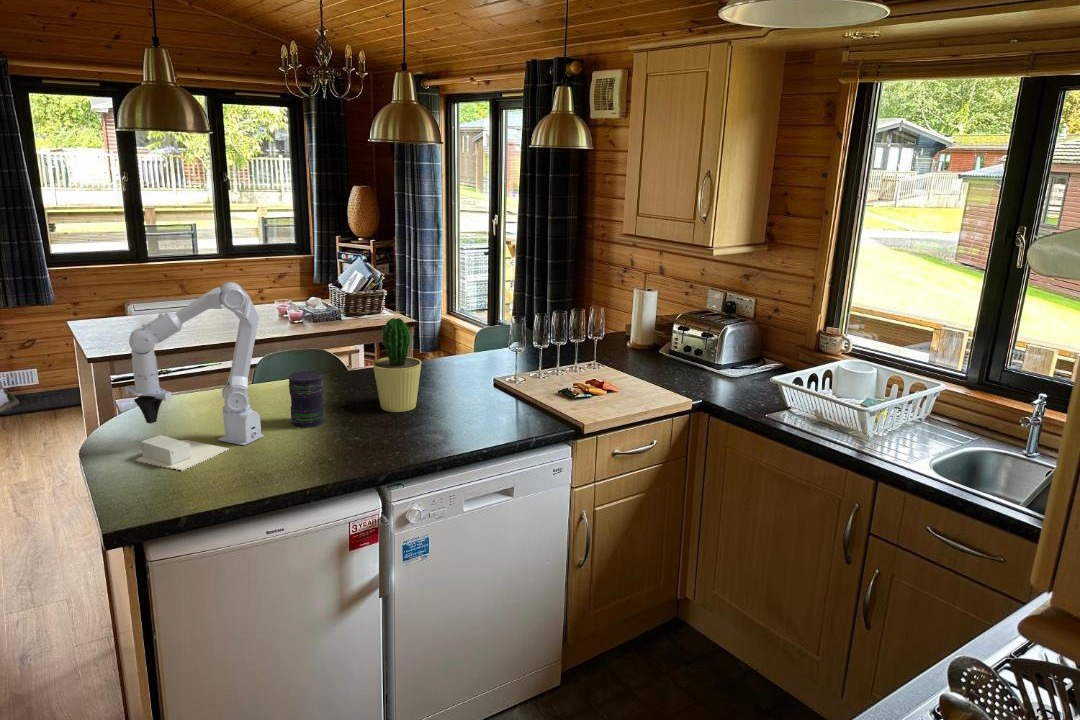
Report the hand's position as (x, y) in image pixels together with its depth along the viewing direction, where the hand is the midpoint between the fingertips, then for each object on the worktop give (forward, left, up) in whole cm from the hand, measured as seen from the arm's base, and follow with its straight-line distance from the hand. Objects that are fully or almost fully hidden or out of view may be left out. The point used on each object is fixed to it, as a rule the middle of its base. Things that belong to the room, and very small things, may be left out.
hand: (151, 422), depth 201 cm
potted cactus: (-39, -60, -8) cm, 72 cm away
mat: (-10, 0, -8) cm, 13 cm away
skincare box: (-2, +3, -5) cm, 6 cm away
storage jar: (-23, -35, -8) cm, 43 cm away
